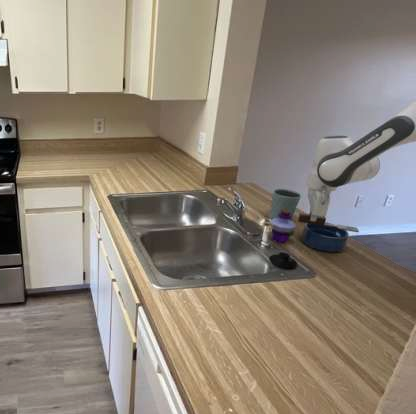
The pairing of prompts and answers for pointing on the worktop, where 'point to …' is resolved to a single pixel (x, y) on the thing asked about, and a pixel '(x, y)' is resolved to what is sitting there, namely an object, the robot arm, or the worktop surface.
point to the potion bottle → (282, 226)
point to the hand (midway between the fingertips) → (312, 218)
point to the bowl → (324, 237)
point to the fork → (321, 221)
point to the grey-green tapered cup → (283, 202)
